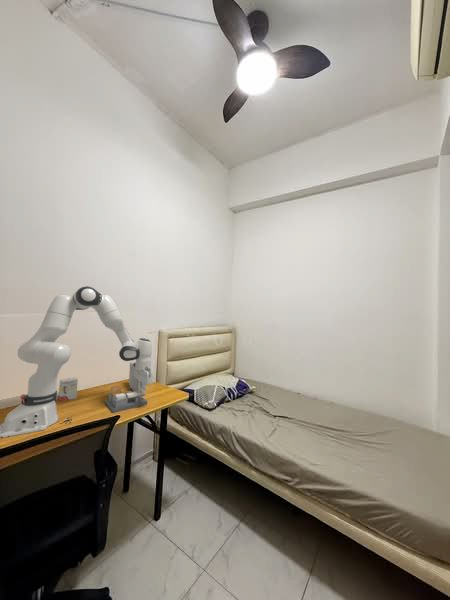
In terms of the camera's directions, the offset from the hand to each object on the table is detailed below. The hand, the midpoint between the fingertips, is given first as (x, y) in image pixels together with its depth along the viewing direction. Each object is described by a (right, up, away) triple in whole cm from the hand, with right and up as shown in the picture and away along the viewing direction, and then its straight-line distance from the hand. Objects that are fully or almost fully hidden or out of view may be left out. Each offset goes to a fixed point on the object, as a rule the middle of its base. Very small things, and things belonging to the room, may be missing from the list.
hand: (142, 388), depth 143 cm
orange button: (-14, -3, -4) cm, 15 cm away
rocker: (-3, -2, -3) cm, 5 cm away
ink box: (-46, -7, +1) cm, 46 cm away
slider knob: (-9, -6, +2) cm, 11 cm away
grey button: (-9, -5, -9) cm, 14 cm away
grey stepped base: (-8, -8, -3) cm, 12 cm away
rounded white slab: (-10, -9, +21) cm, 25 cm away
